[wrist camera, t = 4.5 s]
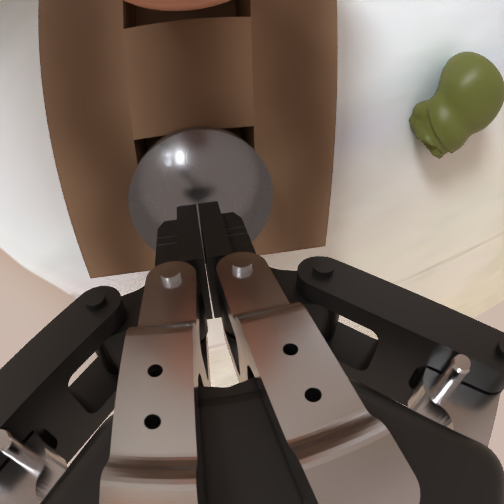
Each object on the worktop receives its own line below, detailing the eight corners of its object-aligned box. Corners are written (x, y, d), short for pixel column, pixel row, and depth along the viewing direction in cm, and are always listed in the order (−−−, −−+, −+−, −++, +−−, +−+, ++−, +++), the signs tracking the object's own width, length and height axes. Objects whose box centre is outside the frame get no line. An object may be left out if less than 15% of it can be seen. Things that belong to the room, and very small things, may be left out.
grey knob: (151, 220, 19) (144, 271, 15) (135, 121, 16) (116, 142, 11) (250, 207, 20) (272, 254, 16) (247, 108, 17) (273, 124, 12)
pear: (523, 98, 14) (458, 183, 19) (482, 78, 18) (423, 152, 23) (497, 46, 12) (423, 142, 17) (451, 33, 16) (386, 115, 21)
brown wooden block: (105, 235, 20) (90, 278, 16) (73, -42, 9) (45, -66, 5) (298, 209, 23) (325, 246, 18) (297, -61, 11) (329, -88, 7)
